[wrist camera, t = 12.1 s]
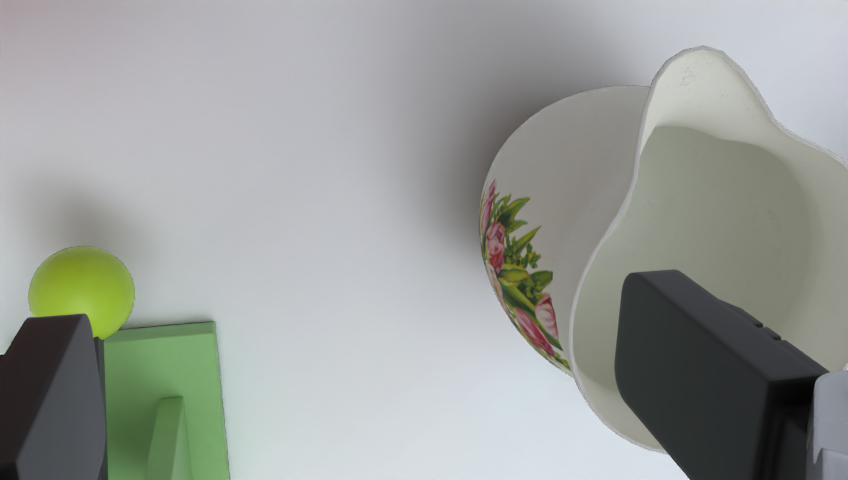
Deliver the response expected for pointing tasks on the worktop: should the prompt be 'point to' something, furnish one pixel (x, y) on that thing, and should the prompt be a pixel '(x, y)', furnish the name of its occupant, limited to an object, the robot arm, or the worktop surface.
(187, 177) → the worktop surface
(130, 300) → the switch lever
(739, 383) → the robot arm
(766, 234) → the pitcher
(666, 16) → the worktop surface
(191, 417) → the green crank stand
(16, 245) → the worktop surface
